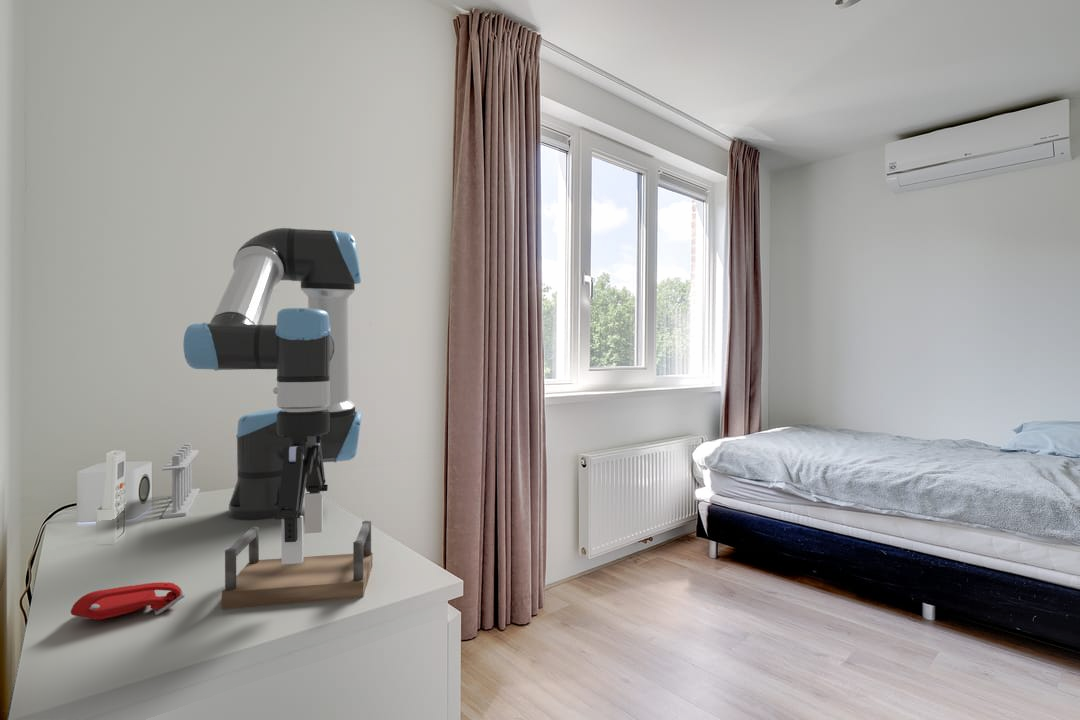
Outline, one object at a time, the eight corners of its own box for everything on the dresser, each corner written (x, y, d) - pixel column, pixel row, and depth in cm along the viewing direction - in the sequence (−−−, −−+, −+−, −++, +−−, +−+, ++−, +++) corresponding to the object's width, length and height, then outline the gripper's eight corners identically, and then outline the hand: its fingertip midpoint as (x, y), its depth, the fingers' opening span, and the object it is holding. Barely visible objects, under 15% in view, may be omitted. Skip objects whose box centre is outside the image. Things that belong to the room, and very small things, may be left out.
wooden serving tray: (250, 575, 88) (250, 526, 88) (372, 567, 91) (372, 519, 91) (222, 609, 76) (221, 553, 76) (363, 598, 80) (363, 544, 80)
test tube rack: (186, 516, 121) (185, 457, 121) (162, 518, 119) (161, 458, 119) (199, 491, 144) (199, 441, 144) (179, 493, 142) (179, 442, 142)
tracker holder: (128, 594, 81) (53, 625, 71) (129, 564, 81) (54, 591, 71) (193, 606, 78) (123, 640, 68) (194, 575, 78) (124, 605, 68)
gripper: (297, 402, 95) (298, 523, 95) (250, 418, 71) (250, 580, 71) (342, 401, 97) (343, 520, 97) (311, 417, 72) (311, 576, 72)
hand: (304, 546), depth 84 cm, fingers open, 13 cm apart
